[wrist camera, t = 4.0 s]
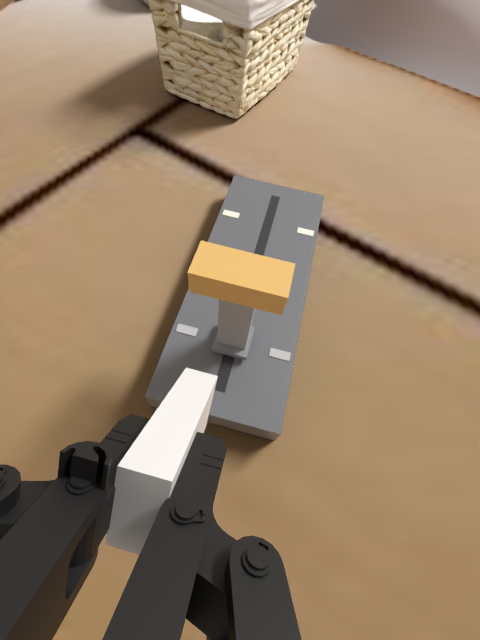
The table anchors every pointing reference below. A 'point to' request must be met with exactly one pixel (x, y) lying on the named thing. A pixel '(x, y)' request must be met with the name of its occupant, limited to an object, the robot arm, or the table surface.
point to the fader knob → (239, 291)
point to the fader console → (270, 329)
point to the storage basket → (228, 48)
